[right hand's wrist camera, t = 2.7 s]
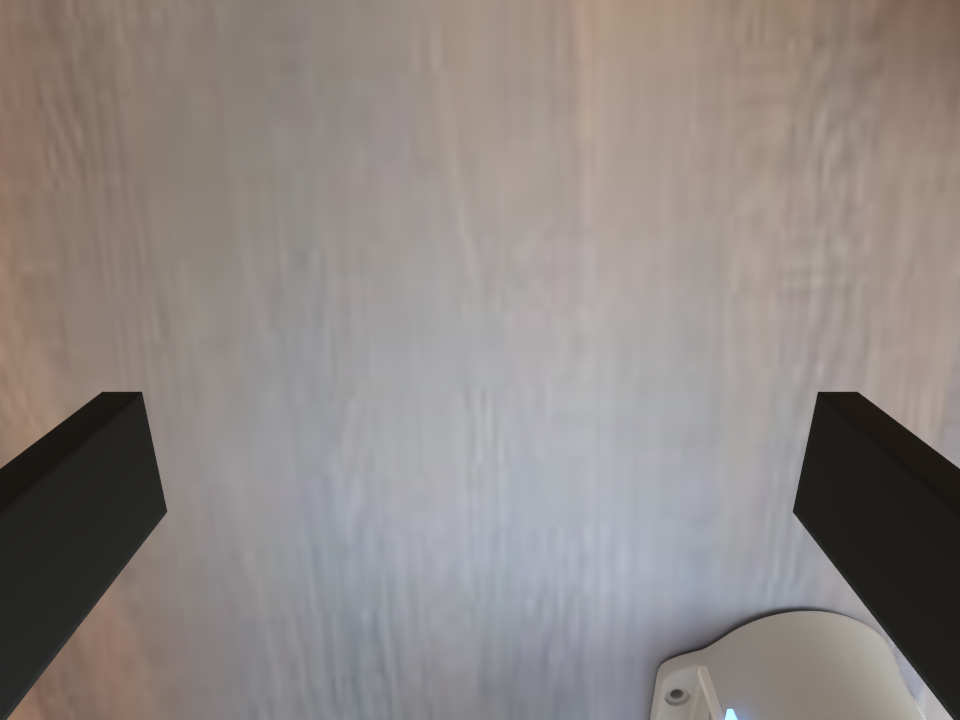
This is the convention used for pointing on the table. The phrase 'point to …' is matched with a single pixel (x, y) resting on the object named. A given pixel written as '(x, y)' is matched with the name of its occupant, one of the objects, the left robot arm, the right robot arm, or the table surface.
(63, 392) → the table surface
